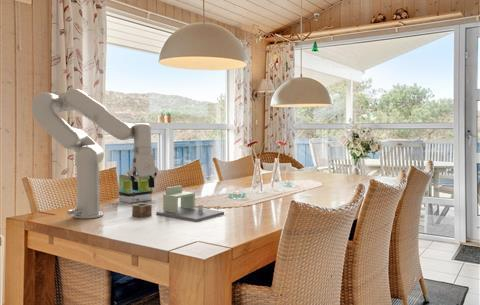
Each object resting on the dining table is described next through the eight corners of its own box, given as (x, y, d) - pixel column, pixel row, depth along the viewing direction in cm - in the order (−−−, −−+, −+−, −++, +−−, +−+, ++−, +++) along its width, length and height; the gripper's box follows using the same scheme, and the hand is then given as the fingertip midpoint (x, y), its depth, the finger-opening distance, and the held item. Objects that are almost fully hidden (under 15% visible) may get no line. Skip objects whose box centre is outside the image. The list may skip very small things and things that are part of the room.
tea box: (130, 203, 216) (130, 175, 215) (118, 201, 222) (118, 174, 221) (152, 200, 228) (152, 173, 227) (140, 197, 234) (140, 172, 233)
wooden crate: (141, 217, 182) (141, 206, 182) (132, 216, 185) (132, 205, 185) (151, 215, 187) (151, 204, 187) (142, 213, 190) (142, 203, 190)
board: (196, 221, 176) (196, 209, 176) (156, 214, 190) (156, 203, 189) (224, 214, 193) (224, 203, 192) (185, 208, 206) (185, 197, 206)
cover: (175, 212, 187) (176, 189, 187) (163, 210, 192) (163, 188, 191) (194, 208, 198) (195, 186, 198) (182, 206, 203) (182, 185, 202)
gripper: (133, 152, 175) (134, 192, 176) (162, 150, 190) (163, 187, 191) (121, 151, 180) (122, 190, 181) (150, 149, 194) (151, 185, 195)
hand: (143, 188), depth 186 cm, fingers open, 9 cm apart
